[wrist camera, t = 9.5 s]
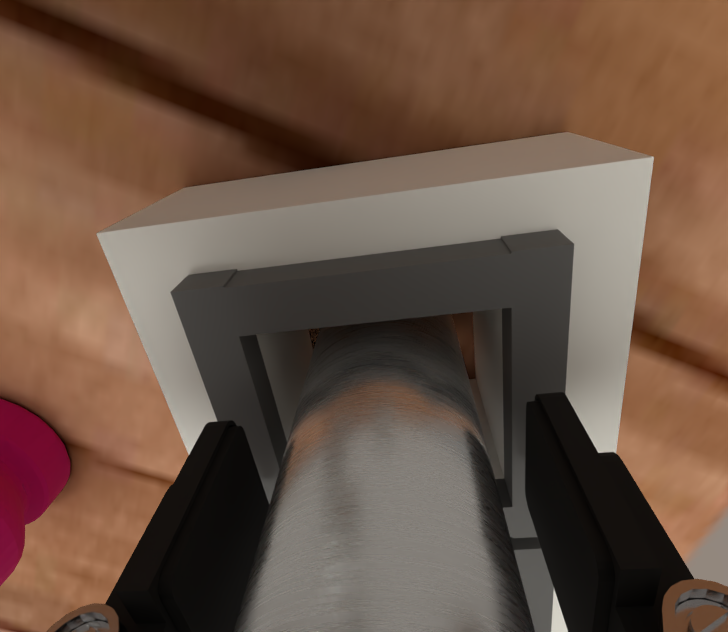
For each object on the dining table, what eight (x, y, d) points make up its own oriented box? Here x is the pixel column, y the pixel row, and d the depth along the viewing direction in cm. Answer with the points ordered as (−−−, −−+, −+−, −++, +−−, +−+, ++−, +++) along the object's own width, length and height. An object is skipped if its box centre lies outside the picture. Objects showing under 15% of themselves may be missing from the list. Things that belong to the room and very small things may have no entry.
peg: (314, 266, 16) (163, 642, 5) (445, 251, 15) (568, 629, 5) (337, 374, 18) (259, 804, 7) (453, 363, 17) (552, 807, 7)
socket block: (183, 187, 15) (-333, 456, 4) (567, 131, 14) (1212, 317, 3) (307, 578, 24) (239, 982, 13) (547, 567, 22) (688, 1007, 12)
